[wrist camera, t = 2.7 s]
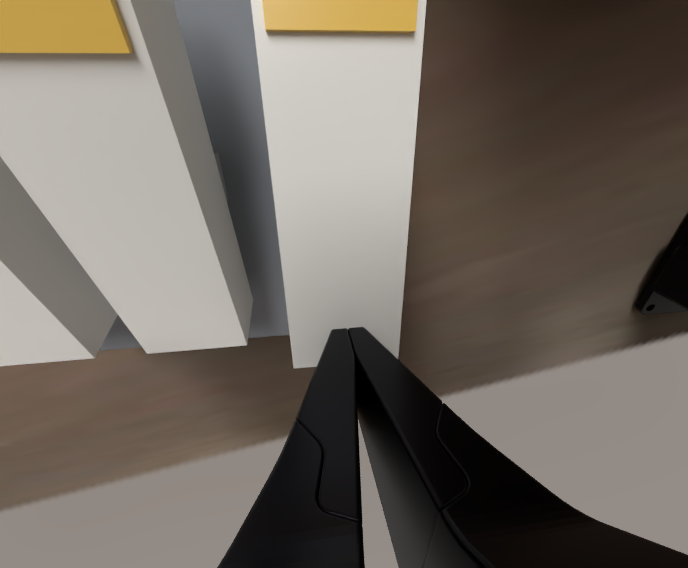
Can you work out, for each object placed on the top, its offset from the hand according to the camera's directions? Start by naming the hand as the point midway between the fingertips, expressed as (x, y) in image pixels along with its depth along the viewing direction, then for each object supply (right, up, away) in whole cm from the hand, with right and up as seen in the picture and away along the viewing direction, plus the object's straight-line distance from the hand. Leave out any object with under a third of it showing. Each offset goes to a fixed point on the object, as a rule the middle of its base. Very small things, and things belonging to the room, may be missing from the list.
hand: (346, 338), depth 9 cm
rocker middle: (-5, +3, -2) cm, 6 cm away
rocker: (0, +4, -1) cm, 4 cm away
